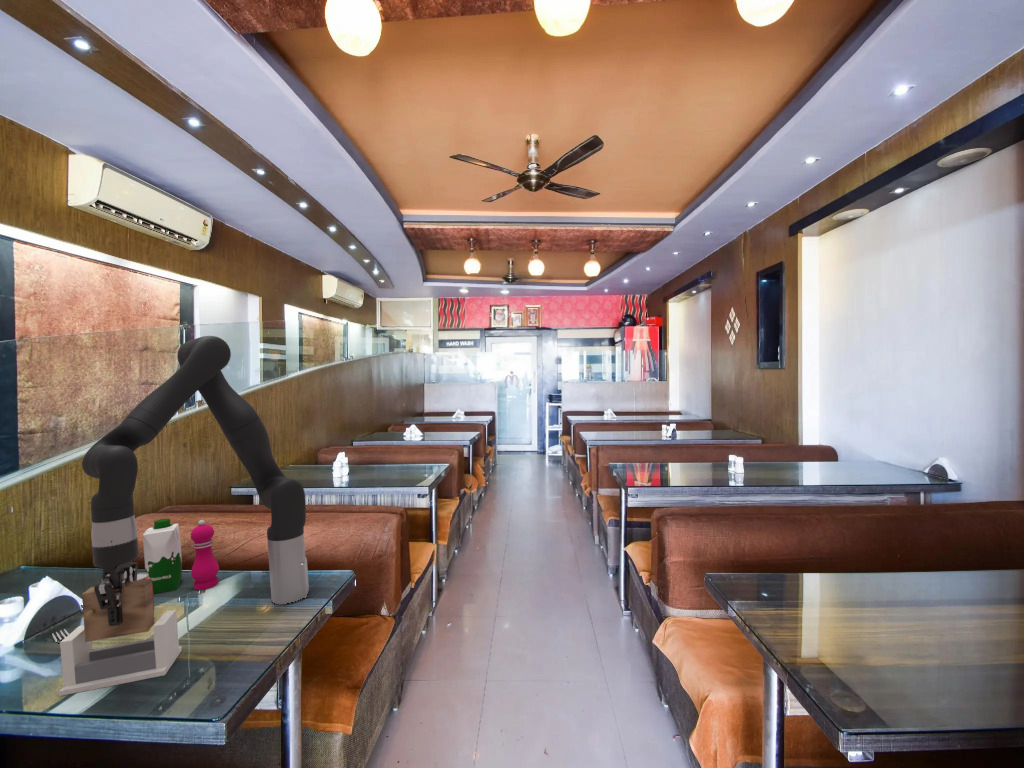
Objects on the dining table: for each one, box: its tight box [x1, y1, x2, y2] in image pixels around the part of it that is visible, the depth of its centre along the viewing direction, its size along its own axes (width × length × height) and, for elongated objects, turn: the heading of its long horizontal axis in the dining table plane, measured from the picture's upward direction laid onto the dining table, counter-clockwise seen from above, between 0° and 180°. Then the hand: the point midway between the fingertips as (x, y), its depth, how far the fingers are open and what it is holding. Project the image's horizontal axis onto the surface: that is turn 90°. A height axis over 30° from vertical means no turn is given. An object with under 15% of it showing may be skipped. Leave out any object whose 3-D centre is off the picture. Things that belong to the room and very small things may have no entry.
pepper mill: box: [190, 519, 220, 591], centre depth 149 cm, size 7×7×20 cm
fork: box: [51, 628, 70, 643], centre depth 116 cm, size 3×24×2 cm, turn 58°
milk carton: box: [142, 518, 183, 595], centre depth 149 cm, size 9×9×20 cm
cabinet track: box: [58, 609, 183, 697], centre depth 105 cm, size 18×10×10 cm, turn 107°
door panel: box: [81, 579, 155, 642], centre depth 104 cm, size 11×4×10 cm, turn 106°
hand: (120, 619), depth 105 cm, fingers closed on door panel, 3 cm apart
